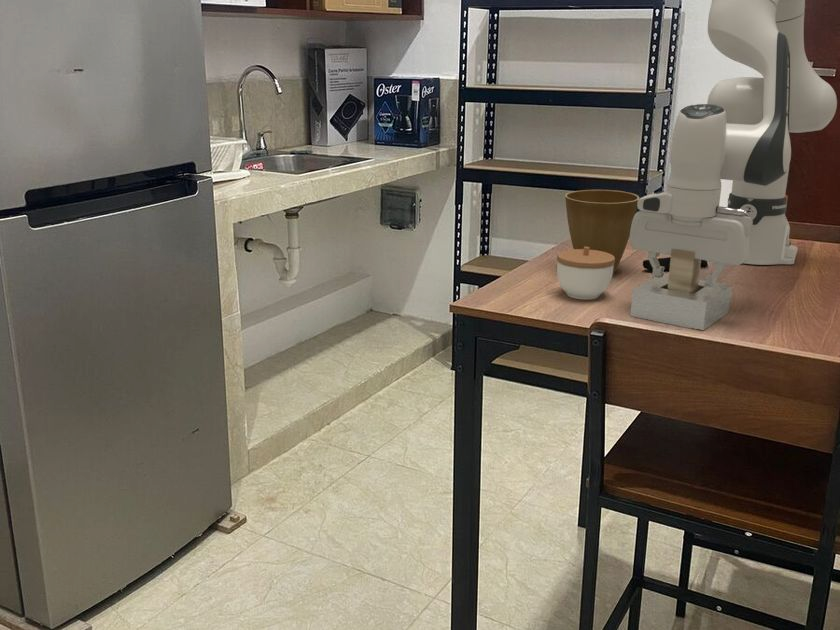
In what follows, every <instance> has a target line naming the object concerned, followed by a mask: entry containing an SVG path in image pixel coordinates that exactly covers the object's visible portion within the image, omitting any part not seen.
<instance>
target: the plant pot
mask: <svg viewBox="0 0 840 630" xmlns="http://www.w3.org/2000/svg"><path fill="white" fill-rule="evenodd" d="M564 196H565V197H564V198H565V208H566V209H565V210H566V216H567V223H568V231H569V235H570V240H571V244H572V249H584V247H589V250H597V251H603V252H606V253H609V254H611V255H613V256H614V257H615V263H614V268H613V274H614V273H615V272H616V271H617V268H618V266H619V264H620V262H621V260H622V258H623V255H624V252H625V251H626V249H627V245H628V243H629V237H630V230H631V225H632V221H633V218H634V215H635V214H636V213H637V212H638V211H637V210H638V207H637V203H638V200H639V199H640V196H639V195H637V194H635V193H632V192H628V191H627V192H626V191H622V190H611V189H584V190H583V189H582V190H576V191H570V192H567V193H566V194H565V195H564Z"/></svg>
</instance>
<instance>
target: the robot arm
mask: <svg viewBox="0 0 840 630" xmlns="http://www.w3.org/2000/svg"><path fill="white" fill-rule="evenodd" d="M805 3H806V0H711V4H710V8H709V12H708V18H707V19H708V20H707V35H708V38H709V40H710V42H711V45H713V46H714V47H715V49H716V50H718V52H720V53H721V54H722V55H723V56H725V57H726V58H728V59H730V60H732V61H733V62H736V63H740V64H742V65H745V66H747V67H749V68H750V69H753V70H755V71H756V72H758V73H759V74H761V76H762V77H756V76H755V77H753V76H752V77H751V76H749V77H748V76H739V77H733V78H727V79H723V80H719V81H718V82H717V83H716V84H715V85H714V86H713V87H712V89H711V90H710V92H709V95H708V96H707V97H708V98H707V103H698V104H691V105H687V106H685V107H683V108H681V109H679V111H678V114H677V117H676V120H675V123H674V126H673V127H674V128H673V132H672V136H671V137H672V138H671V143H670V152H669V164H670V173H669V174H670V175H669V176H668V179H667V182H666V190H665V191H664V190H661V191H658V192H653V193H651V194H648V195H644V196H642V197H639V200H638V203H637V210H639V211H636V214H635V215H634V218H633V221H632V225H631V230H630V237H629V240H628V243H629V245H630V247H631V248H632V249H633V250H638V251H643V252H647V258H648V259H647V260H649V261H650V263H651V265H652V267H653V270H652V273H651V274H652V275H651V277H652V278H654V277H658V278H661V277H663V276H664V274H665V271H664V268H665V267H663V266H660V264H659V261H658V259H659V257H660V255H661V254H663V255H668V256H669V255H670V256H671V250H672V249H677V250H683V251H690V252H695V254H694V259H699V260H706V261H707V262H713V264H712V265H713V266H712V267H713V269H714V271H713V272H712V274H710V273H708V274H707V275H705V277H704V278H705V279H704V281H706V282H705V286H709V287H714V286H716V283H717V282H718V276H719V275H721V273H722V271H723V270H724V269H725V268H726V265H731V266H739V265H742V264H747V265H756V266H757V265H760V266H766V265H767V266H769V265H770V266H771V265H794V264H795V261H796V257H797V254H798V246H795V245H792V244H791V243H792V241H791V240H789V239H790V230H791V227H790V224H789V221H788V219H787V216H786V213H787V206H788V199H789V197H788V195H787V194H786V193H787V192H786V191H787V186H788V185H787V184H788V178H789V170H790V164H791V163H790V162H791V159H792V157H791V156H792V146H791V137H790V133H793V134H794V133H795V134H797V133H799V134H800V133H801V134H802V133H807V132H808V133H809V132H815V131H822V130H823V129H824V128H826V127H827V126H828V125H829V124H830V122H831V121H832V120H833V118H834V116H835V114H836V112H837V111H836V110H837V107H838V99H837V94H836V91H835V89H834V88H833V87H832V86H831V84H829V82H827V81H825V80H824V79H823V78H822V77H820V76H819V75H818V74H817V73H816V72H815V70H814V69H813V67H812V65H811V63H810V62H809V60H808V58H807V55H806V51H805V42H804V41H805V40H804V39H805V37H804V34H805V33H804V28H805V27H804V25H805V24H804V23H805V10H806V9H805V8H806V4H805ZM721 180H724V181H725V180H726V181H732V185H731V192H730V193H729V194H728V198H727V207H726V206H720V201H721V200H720V199H721V193H722V181H721Z"/></svg>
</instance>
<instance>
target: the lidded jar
mask: <svg viewBox="0 0 840 630" xmlns="http://www.w3.org/2000/svg"><path fill="white" fill-rule="evenodd" d="M556 262H557V263H556V273H557V274H556V275H557V281H558V283H559V286H560V288H562V290H563V291H564V292H565V293H566V296H568V297H570V298H572V299H575V300H586V301H588V300H597V299H598V298H600V295H602V294H603V293H604V292H605V291H606V290H607V289H608V287H609V286H610V284H611V281H612V278H613V274H614V273H613V268H614V263H615V257H614V256H613V255H611V254H609V253H606V252H603V251H597V250H589V247H584V249H573V248H572V249H566V250H562V251H560V252H558V253H557V255H556Z"/></svg>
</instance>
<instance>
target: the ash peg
mask: <svg viewBox="0 0 840 630" xmlns="http://www.w3.org/2000/svg"><path fill="white" fill-rule="evenodd" d="M694 254H695V252H690V251H683V250H677V249H672V250H671V255H670V257H671V260H670V269H669V272H668V275H669V279H668V288H667V289H669V290H674V291H679V292H685V293H690V294H694V293H696V292H698V283H699V280H700V273H701V267H700V266H701V260H699V259H694Z"/></svg>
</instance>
